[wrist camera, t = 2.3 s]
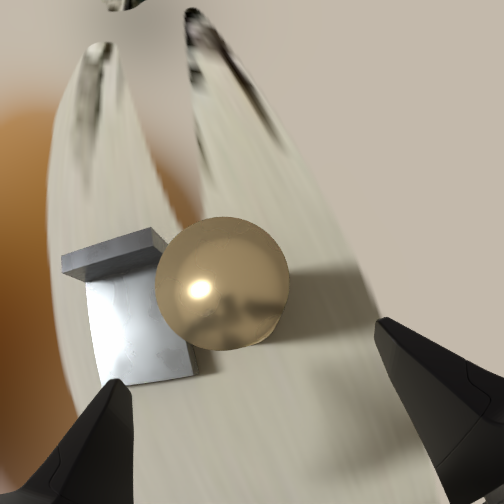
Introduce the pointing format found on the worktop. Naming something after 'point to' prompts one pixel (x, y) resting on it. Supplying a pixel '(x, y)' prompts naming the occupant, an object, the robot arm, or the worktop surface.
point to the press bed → (129, 310)
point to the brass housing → (222, 284)
